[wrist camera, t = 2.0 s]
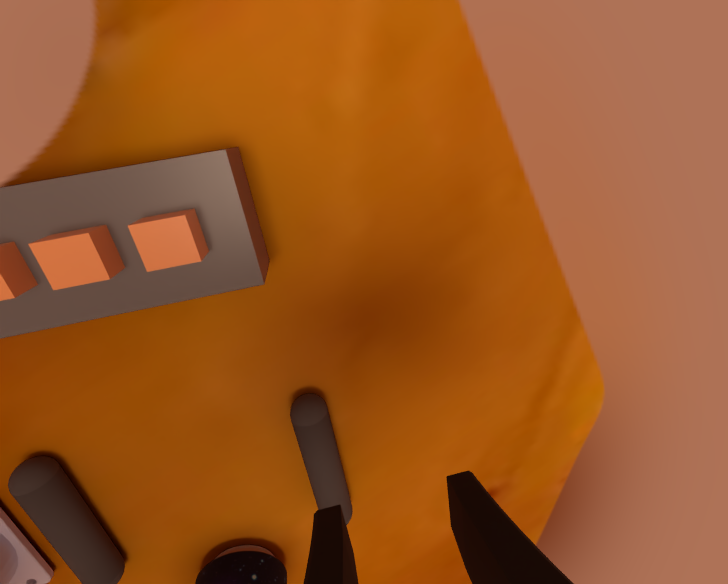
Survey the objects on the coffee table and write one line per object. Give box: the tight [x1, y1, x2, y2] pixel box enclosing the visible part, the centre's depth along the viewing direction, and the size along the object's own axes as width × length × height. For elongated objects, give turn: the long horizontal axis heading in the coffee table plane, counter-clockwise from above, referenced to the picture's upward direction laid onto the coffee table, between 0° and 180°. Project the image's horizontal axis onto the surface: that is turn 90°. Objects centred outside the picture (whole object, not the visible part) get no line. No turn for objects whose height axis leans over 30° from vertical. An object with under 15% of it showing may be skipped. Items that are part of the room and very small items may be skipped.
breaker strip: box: [0, 147, 269, 338], centre depth 14 cm, size 14×5×4 cm, turn 99°
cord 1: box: [8, 456, 125, 584], centre depth 20 cm, size 2×10×2 cm, turn 9°
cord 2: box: [290, 393, 352, 525], centre depth 22 cm, size 2×10×2 cm, turn 10°
